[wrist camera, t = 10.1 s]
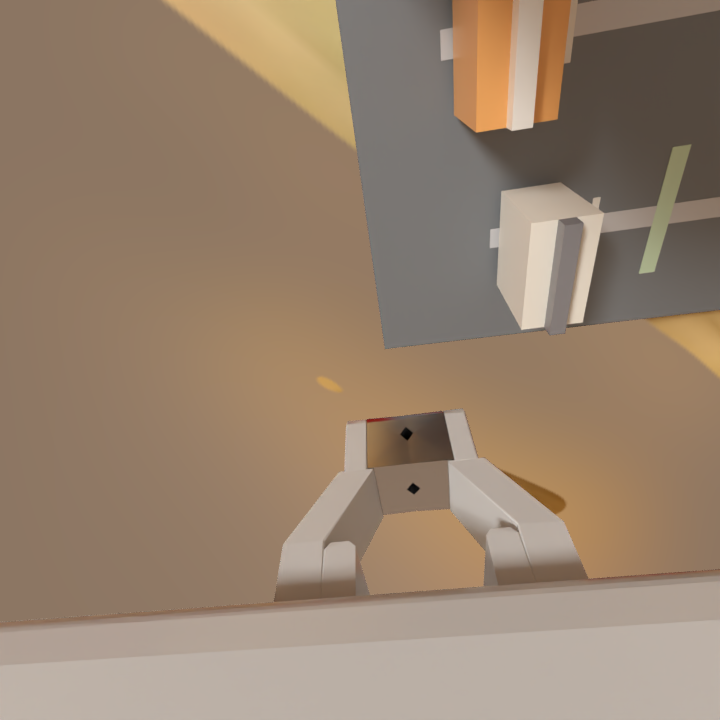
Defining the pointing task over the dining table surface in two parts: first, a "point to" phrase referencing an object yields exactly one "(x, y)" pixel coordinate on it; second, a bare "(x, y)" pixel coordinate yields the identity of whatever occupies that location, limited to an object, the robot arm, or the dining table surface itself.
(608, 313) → the console board
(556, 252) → the ivory knob
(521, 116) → the orange knob
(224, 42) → the dining table surface
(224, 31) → the dining table surface
